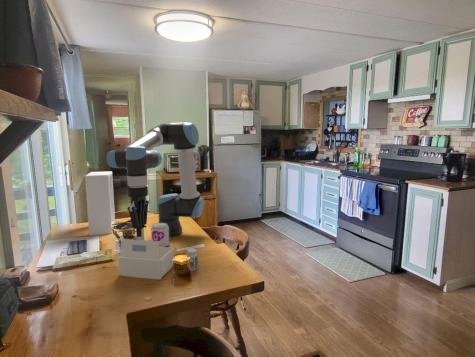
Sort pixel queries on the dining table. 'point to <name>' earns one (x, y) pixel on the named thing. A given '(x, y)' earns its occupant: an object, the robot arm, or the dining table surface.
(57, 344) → the dining table surface
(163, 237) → the supplement can
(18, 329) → the dining table surface
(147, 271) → the carton
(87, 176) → the box
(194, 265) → the pill bottle
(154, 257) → the flap
